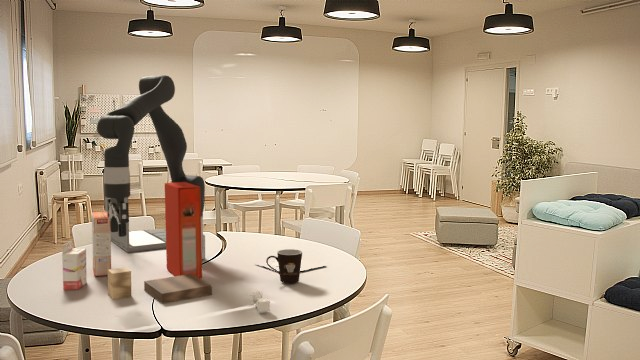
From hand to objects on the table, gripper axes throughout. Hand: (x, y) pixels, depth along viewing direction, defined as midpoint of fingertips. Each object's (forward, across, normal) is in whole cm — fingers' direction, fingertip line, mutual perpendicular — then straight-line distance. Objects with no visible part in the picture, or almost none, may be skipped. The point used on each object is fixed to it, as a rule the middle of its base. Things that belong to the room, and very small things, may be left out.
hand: (118, 234), depth 170 cm
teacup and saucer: (+20, +3, -65) cm, 68 cm away
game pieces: (+20, -32, -32) cm, 49 cm away
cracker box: (+20, +32, -3) cm, 38 cm away
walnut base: (+19, -7, -16) cm, 26 cm away
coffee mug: (+19, -14, -52) cm, 57 cm away
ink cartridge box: (+20, +18, +9) cm, 28 cm away
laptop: (+20, +72, -32) cm, 81 cm away
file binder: (+19, +13, -26) cm, 35 cm away
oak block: (+19, 0, 0) cm, 19 cm away
